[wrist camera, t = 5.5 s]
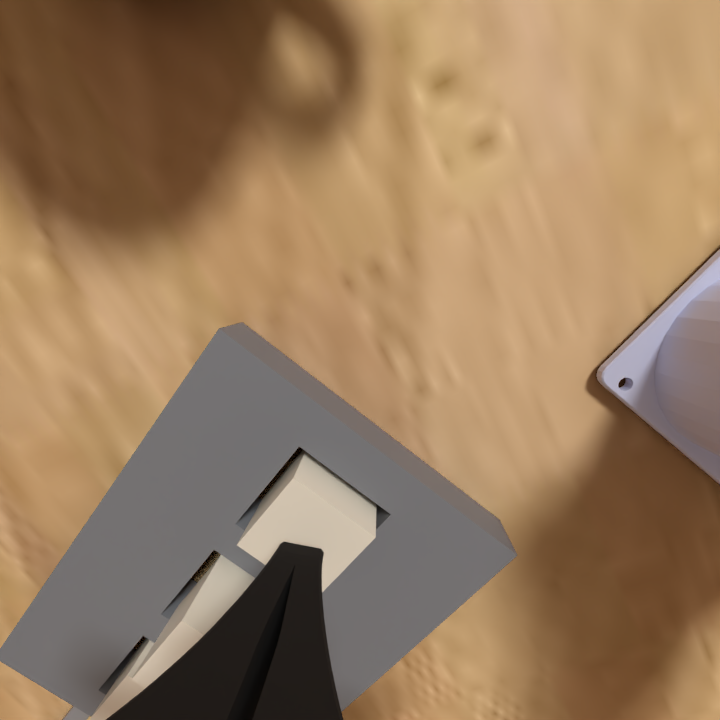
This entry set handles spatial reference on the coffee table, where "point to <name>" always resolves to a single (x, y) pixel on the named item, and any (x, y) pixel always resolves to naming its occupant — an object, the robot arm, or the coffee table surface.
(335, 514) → the button
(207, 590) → the button mid
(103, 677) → the board
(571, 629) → the coffee table surface
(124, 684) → the button
